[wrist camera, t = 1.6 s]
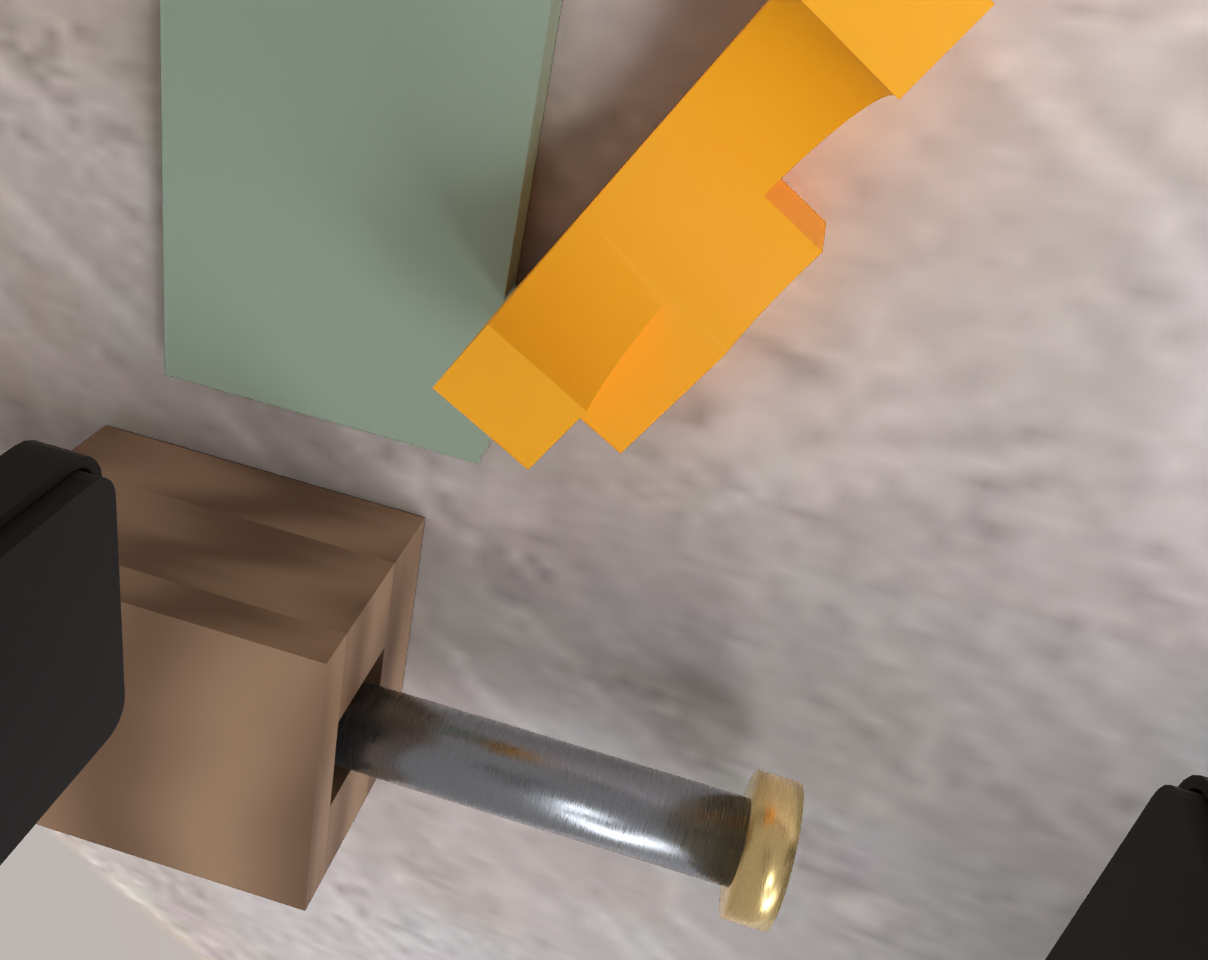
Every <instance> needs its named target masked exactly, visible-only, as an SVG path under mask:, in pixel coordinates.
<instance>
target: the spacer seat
mask: <svg viewBox="0 0 1208 960" xmlns="http://www.w3.org/2000/svg"><path fill="white" fill-rule="evenodd" d="M561 6H562V0H160V40H161V120H162V201H163V282H164V363H165V375H168V376H172V377H175V378H179V379H182V380H186V381H189V382H193V383H196V384H200V385H203V386H207V387H210V388H214V389H217V390H221V391H224V392H228V393H231V394H235V395H238V396H242V397H245V398H249V399H252V400H256V401H260V402H263V403H267V404H270V405H274V406H277V407H281V408H284V409H288V410H291V411H295V412H298V413H302V414H305V415H309V416H312V417H316V418H319V419H323V420H326V421H330V422H333V423H337V424H340V425H344V426H347V427H351V428H354V429H358V430H361V431H365V432H368V433H372V434H375V435H379V436H382V437H386V438H389V439H393V440H397V441H400V442H404V443H407V444H411V445H414V446H418V447H421V448H425V449H428V450H432V451H435V452H439V453H442V454H446V455H449V456H453V457H456V458H460V459H463V460H467V461H470V462H474V463H477V464H478V462H479V461H480V459H481V458H482V456H483V455H484V453H485V452H486V450H487V449H488V447H489V442H490V437H489V436H488V435H487V434H486V433H484V432H483V431H482V430H481V429H480V428H479V427H477V426H476V425H475V424H474V423H473V422H472V421H470V420H469V419H468V418H467V417H466V416H465V415H463V414H462V413H461V412H460V411H459V410H458V409H456V408H455V407H454V406H453V405H452V404H451V403H449V402H448V401H447V400H446V399H445V398H444V397H442V396H441V395H440V394H439V393H438V392H437V391H435V390H434V389H433V387H434V385H435V384H436V383H437V382H438V381H439V379H440V378H441V377H442V376H443V375H444V373H445V372H446V371H447V370H448V369H449V367H450V366H451V365H452V364H453V363H454V361H455V360H456V359H457V358H458V357H459V355H460V354H461V353H462V352H463V351H464V349H465V348H466V347H467V346H468V345H469V343H470V342H471V341H472V340H473V339H474V337H475V336H476V335H477V334H478V333H479V331H480V330H481V329H482V328H483V327H484V325H485V324H486V323H487V322H488V321H489V319H490V318H491V317H492V316H493V315H494V313H495V312H496V311H497V310H498V309H499V307H500V306H501V305H502V304H503V303H504V301H505V300H506V299H507V298H508V297H509V295H510V294H511V293H512V292H513V291H514V289H515V285H516V279H517V272H518V266H519V260H520V254H521V248H522V242H523V236H524V230H525V224H526V218H527V212H528V206H529V200H530V194H531V188H532V182H533V175H534V169H535V163H536V157H537V151H538V145H539V139H540V133H541V127H542V121H543V115H544V109H545V103H546V97H547V91H548V85H549V78H550V72H551V66H552V60H553V54H554V48H555V42H556V36H557V30H558V24H559V18H560V12H561Z"/></svg>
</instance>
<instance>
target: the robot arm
mask: <svg viewBox="0 0 1208 960" xmlns="http://www.w3.org/2000/svg"><path fill="white" fill-rule="evenodd" d="M124 703H125V685H124V663H123V641H122V619H121V597H120V575H119V553H118V531H117V509H116V493H115V487H114V485H113V483H112V481H111V480H109V479H107V478H105V477H102V473H101V468H100V466H99V464H98V463H97V461H96V460H95V459H93V458H92V457H90V456H87V455H83V454H80V453H76V452H73V451H70V450H66V449H63V448H59V447H56V446H52V445H49V444H45V443H42V442H38V441H35V440H30V441H23V442H21V443H19V444H17V445H15V446H14V447H12V448H11V449H9V450H8V451H7V452H5V453H4V454H2V455H1V456H0V865H1V864H2V863H3V862H4V860H5V859H6V858H7V857H8V856H9V854H10V853H11V852H12V851H13V850H14V849H15V848H16V846H17V845H18V844H19V843H20V842H21V841H22V839H23V838H24V837H25V836H26V835H27V833H28V832H29V831H30V830H31V829H32V827H33V826H34V825H35V824H36V823H37V822H38V821H39V819H40V818H41V817H42V816H43V815H44V814H45V812H46V811H47V810H48V809H49V808H50V807H51V805H52V804H53V803H54V802H55V801H56V800H57V798H58V797H59V796H60V795H61V794H62V793H63V791H64V790H65V789H66V788H67V787H68V786H69V784H70V783H71V782H72V781H73V780H74V779H75V777H76V776H77V775H78V774H79V773H80V772H81V770H82V769H83V768H84V767H85V766H86V764H87V763H88V762H89V761H90V760H91V759H92V757H93V756H94V755H95V754H96V753H97V752H98V750H99V749H100V748H101V747H102V746H103V745H104V743H105V742H106V741H107V740H108V739H109V737H110V736H111V735H112V733H113V732H114V730H115V728H116V726H117V724H118V723H119V720H120V717H121V715H122V712H123V708H124ZM1045 960H1208V777H1204V776H1201V775H1192V776H1190V777H1188V778H1186V779H1185V780H1183V782H1182V783H1181V784H1180V785H1179V786H1178V787H1175V786H1172V785H1164V786H1162V787H1161V788H1159V789H1158V790H1157V791H1156V793H1155V794H1154V795H1153V796H1152V798H1151V799H1150V801H1149V802H1148V804H1147V806H1146V807H1145V809H1144V810H1143V812H1142V813H1141V815H1140V816H1139V818H1138V819H1137V821H1136V822H1135V824H1134V825H1133V827H1132V828H1131V830H1130V831H1129V833H1128V834H1127V836H1126V838H1125V839H1124V841H1123V842H1122V844H1121V845H1120V847H1119V848H1118V850H1117V851H1116V853H1115V854H1114V856H1113V857H1112V859H1111V860H1110V862H1109V863H1108V865H1107V866H1106V868H1105V870H1104V871H1103V873H1102V874H1101V876H1100V877H1099V879H1098V880H1097V882H1096V883H1095V885H1094V886H1093V888H1092V889H1091V891H1090V892H1089V894H1088V895H1087V897H1086V899H1085V900H1084V902H1083V903H1082V905H1081V906H1080V908H1079V909H1078V911H1077V912H1076V914H1075V915H1074V917H1073V918H1072V920H1071V921H1070V923H1069V924H1068V926H1067V927H1066V929H1065V931H1064V932H1063V934H1062V935H1061V937H1060V938H1059V940H1058V941H1057V943H1056V944H1055V946H1054V947H1053V949H1052V950H1051V952H1050V953H1049V955H1048V956H1047V958H1046V959H1045Z"/></svg>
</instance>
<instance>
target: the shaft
mask: <svg viewBox="0 0 1208 960" xmlns="http://www.w3.org/2000/svg"><path fill="white" fill-rule="evenodd" d="M334 765H336V766H339V767H343V768H346V769H349V770H352V771H355V772H359V773H362V774H365V775H368V776H371V777H375V778H378V779H381V780H384V781H388V782H391V783H394V784H397V785H400V786H404V787H407V788H410V789H413V790H417V791H420V792H423V793H426V794H429V795H433V796H436V797H439V798H442V799H445V800H449V801H452V802H455V803H458V804H462V805H465V806H468V807H471V808H474V809H478V810H481V811H484V812H487V813H491V814H494V815H497V816H500V817H503V818H507V819H510V820H513V821H516V822H520V823H523V824H526V825H529V826H532V827H536V828H539V829H542V830H545V831H548V832H552V833H555V834H558V835H561V836H565V837H568V838H571V839H574V840H577V841H581V842H584V843H587V844H590V845H594V846H597V847H600V848H603V849H606V850H610V851H613V852H616V853H619V854H622V855H626V856H629V857H632V858H635V859H639V860H642V861H645V862H648V863H651V864H655V865H658V866H661V867H664V868H668V869H671V870H674V871H677V872H680V873H684V874H687V875H690V876H693V877H696V878H700V879H703V880H706V881H709V882H713V883H716V884H719V885H721V892H720V901H719V916H720V918H722V919H725V920H728V921H731V922H735V923H738V924H741V925H744V926H747V927H751V928H754V929H757V930H760V931H763V932H767V931H768V930H769V929H770V928H771V926H772V924H773V922H774V920H775V918H776V916H777V914H778V911H779V909H780V906H781V903H782V901H783V898H784V895H785V892H786V888H787V885H788V882H789V878H790V874H791V870H792V867H793V863H794V858H795V854H796V849H797V844H798V839H799V834H800V828H801V821H802V813H803V800H804V792H803V786H802V783H801V782H798V781H795V780H791V779H788V778H785V777H781V776H778V775H775V774H771V773H768V772H765V771H762V770H758V769H757V770H756V771H755V772H754V773H753V775H752V777H751V779H750V781H749V784H748V786H747V789H746V791H745V794H744V796H741V795H738V794H735V793H731V792H728V791H725V790H722V789H718V788H715V787H712V786H708V785H705V784H702V783H698V782H695V781H692V780H689V779H685V778H682V777H679V776H675V775H672V774H669V773H666V772H662V771H659V770H656V769H652V768H649V767H646V766H642V765H639V764H636V763H633V762H629V761H626V760H623V759H619V758H616V757H613V756H610V755H606V754H603V753H600V752H596V751H593V750H590V749H587V748H583V747H580V746H577V745H573V744H570V743H567V742H563V741H560V740H557V739H554V738H550V737H547V736H544V735H540V734H537V733H534V732H531V731H527V730H524V729H521V728H517V727H514V726H511V725H507V724H504V723H501V722H498V721H494V720H491V719H488V718H484V717H481V716H478V715H475V714H471V713H468V712H465V711H461V710H458V709H455V708H451V707H448V706H445V705H442V704H438V703H435V702H432V701H428V700H425V699H422V698H419V697H415V696H412V695H409V694H405V693H402V692H399V691H396V690H392V689H389V688H386V687H382V686H379V685H376V684H372V683H369V682H366V681H363V683H362V684H361V686H360V688H359V689H358V691H357V693H356V694H355V696H354V697H353V699H352V701H351V702H350V704H349V706H348V707H347V709H346V710H345V712H344V714H343V715H342V717H341V718H340V720H339V722H338V731H337V741H336V751H335V762H334Z"/></svg>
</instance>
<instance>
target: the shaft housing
mask: <svg viewBox="0 0 1208 960" xmlns="http://www.w3.org/2000/svg"><path fill="white" fill-rule="evenodd" d="M72 451H73V452H76V453H80V454H83V455H87V456H90V457H92V458H93V459H95V460H96V461H97V463H98V464H99V466H100V468H101V473H102V477H105V478H107V479H109V480H111V481H112V483H113V485H114V487H115V493H116V509H117V531H118V553H119V575H120V597H121V619H122V641H123V663H124V685H125V703H124V708H123V712H122V715H121V717H120V720H119V723H118V724H117V726H116V728H115V730H114V732H113V733H112V735H111V736H110V737H109V739H108V740H107V741H106V742H105V743H104V745H103V746H102V747H101V748H100V749H99V750H98V752H97V753H96V754H95V755H94V756H93V757H92V759H91V760H90V761H89V762H88V763H87V764H86V766H85V767H84V768H83V769H82V770H81V772H80V773H79V774H78V775H77V776H76V777H75V779H74V780H73V781H72V782H71V783H70V784H69V786H68V787H67V788H66V789H65V790H64V791H63V793H62V794H61V795H60V796H59V797H58V798H57V800H56V801H55V802H54V803H53V804H52V805H51V807H50V808H49V809H48V810H47V811H46V812H45V814H44V815H43V816H42V817H41V818H40V819H39V821H38V822H37V823H36V824H38V825H41V826H44V827H47V828H50V829H53V830H56V831H59V832H62V833H65V834H69V835H72V836H75V837H78V838H81V839H84V840H87V841H90V842H93V843H96V844H100V845H103V846H106V847H109V848H112V849H115V850H118V851H121V852H124V853H127V854H131V855H134V856H137V857H140V858H143V859H146V860H149V861H152V862H155V863H158V864H161V865H165V866H168V867H171V868H174V869H177V870H180V871H183V872H186V873H189V874H192V875H196V876H199V877H202V878H205V879H208V880H211V881H214V882H217V883H220V884H223V885H227V886H230V887H233V888H236V889H239V890H242V891H245V892H248V893H251V894H254V895H258V896H261V897H264V898H267V899H270V900H273V901H276V902H279V903H282V904H285V905H289V906H292V907H295V908H298V909H301V910H304V911H305V910H306V908H307V906H308V905H309V903H310V901H311V899H312V897H313V895H314V893H315V892H316V890H317V888H318V886H319V884H320V882H321V880H322V879H323V877H324V875H325V873H326V871H327V869H328V867H329V866H330V864H331V862H332V860H333V858H334V856H335V854H336V853H337V851H338V849H339V847H340V845H341V843H342V841H343V840H344V838H345V836H346V834H347V832H348V830H349V828H350V827H351V825H352V823H353V821H354V819H355V817H356V815H357V814H358V812H359V810H360V808H361V806H362V804H363V802H364V801H365V799H366V797H367V795H368V793H369V791H370V789H371V788H372V786H373V784H374V782H375V780H376V778H375V777H371V776H368V775H365V774H362V773H359V772H355V771H352V770H349V769H346V768H343V767H339V766H336V765H334V762H335V751H336V741H337V731H338V722H339V720H340V718H341V717H342V715H343V714H344V712H345V710H346V709H347V707H348V706H349V704H350V702H351V701H352V699H353V697H354V696H355V694H356V693H357V691H358V689H359V688H360V686H361V684H362V683H363V681H366V682H369V683H372V684H376V685H379V686H382V687H386V688H389V689H392V690H396V691H399V692H402V687H403V679H404V672H405V665H406V657H407V650H408V642H409V635H410V628H411V620H412V613H413V605H414V598H415V591H416V583H417V576H418V569H419V561H420V554H421V546H422V539H423V532H424V524H425V518H424V517H420V516H417V515H413V514H410V513H406V512H403V511H399V510H396V509H393V508H389V507H386V506H382V505H379V504H375V503H372V502H368V501H365V500H361V499H358V498H355V497H351V496H348V495H344V494H341V493H337V492H334V491H330V490H327V489H324V488H320V487H317V486H313V485H310V484H306V483H303V482H299V481H296V480H292V479H289V478H286V477H282V476H279V475H275V474H272V473H268V472H265V471H261V470H258V469H255V468H251V467H248V466H244V465H241V464H237V463H234V462H230V461H227V460H223V459H220V458H217V457H213V456H210V455H206V454H203V453H199V452H196V451H192V450H189V449H186V448H182V447H179V446H175V445H172V444H168V443H165V442H161V441H158V440H155V439H151V438H148V437H144V436H141V435H137V434H134V433H130V432H127V431H123V430H120V429H117V428H113V427H110V426H104V427H103V428H102V429H100V430H99V431H98V432H96V433H95V434H93V435H92V436H91V437H89V438H88V439H87V440H85V441H84V442H83V443H81V444H80V445H79V446H77V447H76V448H75V449H73V450H72Z"/></svg>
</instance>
